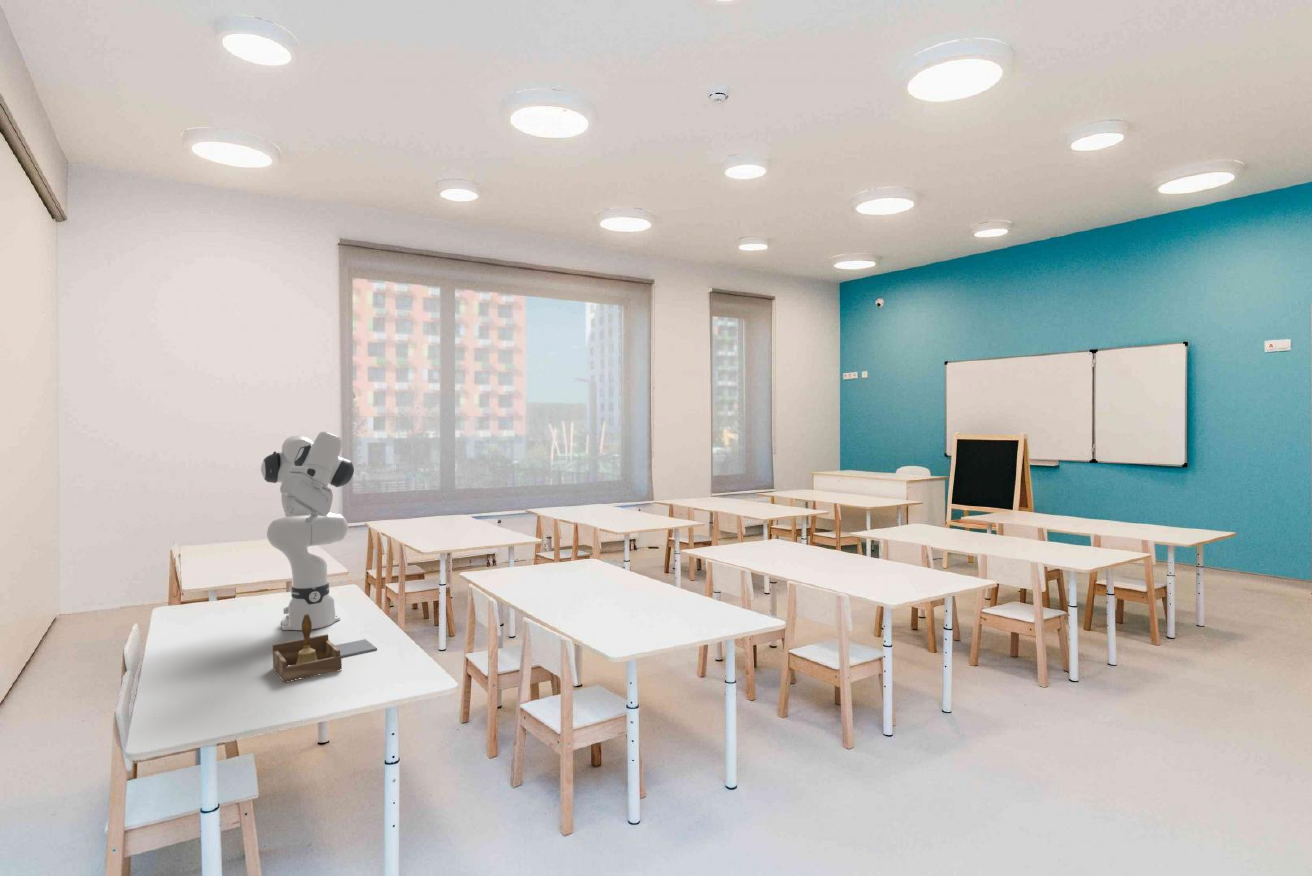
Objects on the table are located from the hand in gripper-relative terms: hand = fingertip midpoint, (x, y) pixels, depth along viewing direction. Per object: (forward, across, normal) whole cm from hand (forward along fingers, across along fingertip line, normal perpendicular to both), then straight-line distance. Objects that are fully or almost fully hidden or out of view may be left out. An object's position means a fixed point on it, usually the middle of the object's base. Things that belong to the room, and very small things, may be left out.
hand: (298, 518), depth 222 cm
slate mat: (+34, -24, +16) cm, 44 cm away
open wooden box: (+43, -9, +15) cm, 46 cm away
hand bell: (+43, -9, +15) cm, 46 cm away
